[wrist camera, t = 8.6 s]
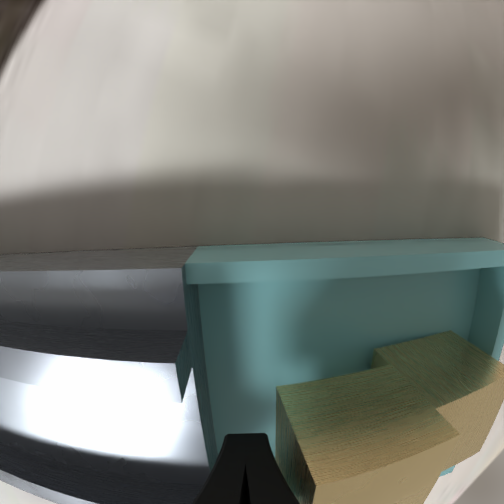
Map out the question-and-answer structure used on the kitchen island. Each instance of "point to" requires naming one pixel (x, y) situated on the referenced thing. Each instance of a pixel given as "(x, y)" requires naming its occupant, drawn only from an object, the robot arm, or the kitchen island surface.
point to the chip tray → (332, 312)
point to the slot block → (103, 377)
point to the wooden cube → (360, 439)
